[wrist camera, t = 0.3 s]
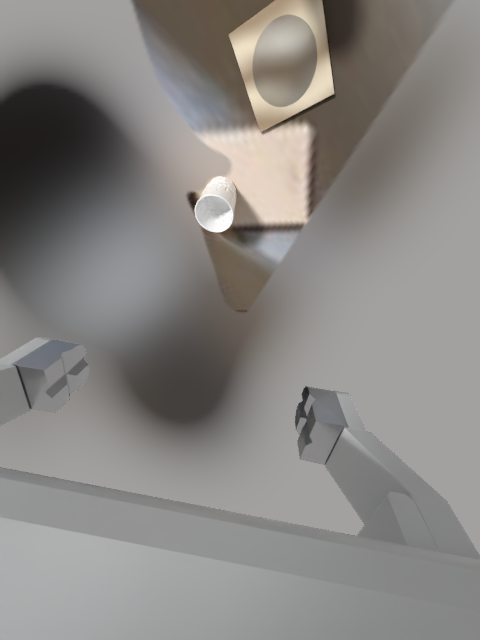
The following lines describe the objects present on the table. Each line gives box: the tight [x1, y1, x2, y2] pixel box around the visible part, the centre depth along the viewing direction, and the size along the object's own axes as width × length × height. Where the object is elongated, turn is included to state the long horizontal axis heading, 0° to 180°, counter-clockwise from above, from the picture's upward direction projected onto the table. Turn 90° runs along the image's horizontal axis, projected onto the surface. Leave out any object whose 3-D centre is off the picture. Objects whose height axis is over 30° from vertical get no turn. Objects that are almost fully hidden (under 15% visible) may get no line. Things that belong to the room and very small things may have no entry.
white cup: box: [195, 176, 237, 232], centre depth 52 cm, size 8×8×10 cm
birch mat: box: [229, 0, 334, 132], centre depth 38 cm, size 13×13×1 cm
